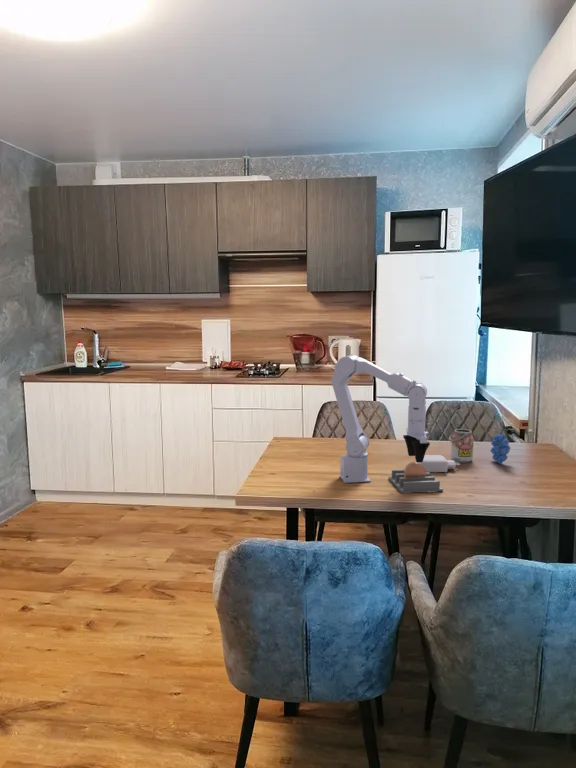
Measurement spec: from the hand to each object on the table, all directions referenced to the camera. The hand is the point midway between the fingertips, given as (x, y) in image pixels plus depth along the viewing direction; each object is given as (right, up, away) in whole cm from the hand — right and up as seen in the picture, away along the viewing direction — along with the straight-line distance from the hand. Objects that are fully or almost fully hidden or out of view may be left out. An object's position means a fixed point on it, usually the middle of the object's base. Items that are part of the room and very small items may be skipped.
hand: (415, 458), depth 187 cm
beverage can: (+25, -5, +31) cm, 40 cm away
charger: (+13, -7, +20) cm, 25 cm away
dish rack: (0, -9, +1) cm, 9 cm away
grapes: (+39, -6, +26) cm, 48 cm away
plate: (0, -8, +1) cm, 8 cm away
